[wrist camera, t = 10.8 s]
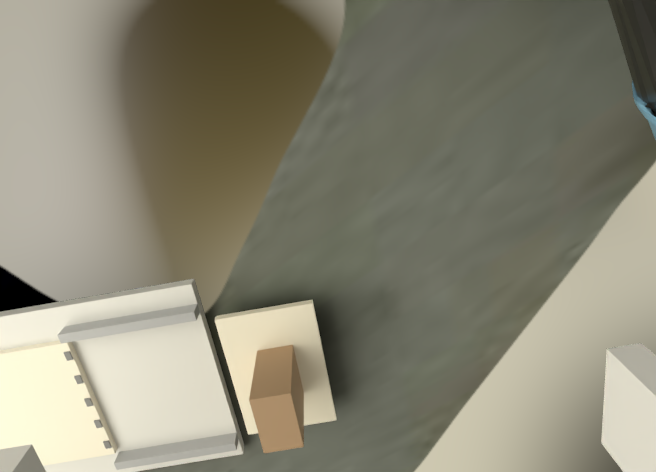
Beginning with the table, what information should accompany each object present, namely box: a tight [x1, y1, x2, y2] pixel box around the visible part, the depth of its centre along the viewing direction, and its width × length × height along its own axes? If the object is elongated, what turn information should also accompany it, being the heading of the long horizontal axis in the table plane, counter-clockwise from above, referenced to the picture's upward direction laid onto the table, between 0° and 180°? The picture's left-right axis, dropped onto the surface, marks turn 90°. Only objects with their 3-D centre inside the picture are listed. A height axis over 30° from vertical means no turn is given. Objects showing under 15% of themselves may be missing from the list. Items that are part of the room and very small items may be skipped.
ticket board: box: [0, 279, 244, 472], centre depth 41 cm, size 24×18×2 cm
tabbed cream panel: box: [215, 300, 336, 453], centre depth 37 cm, size 8×12×7 cm, turn 9°
